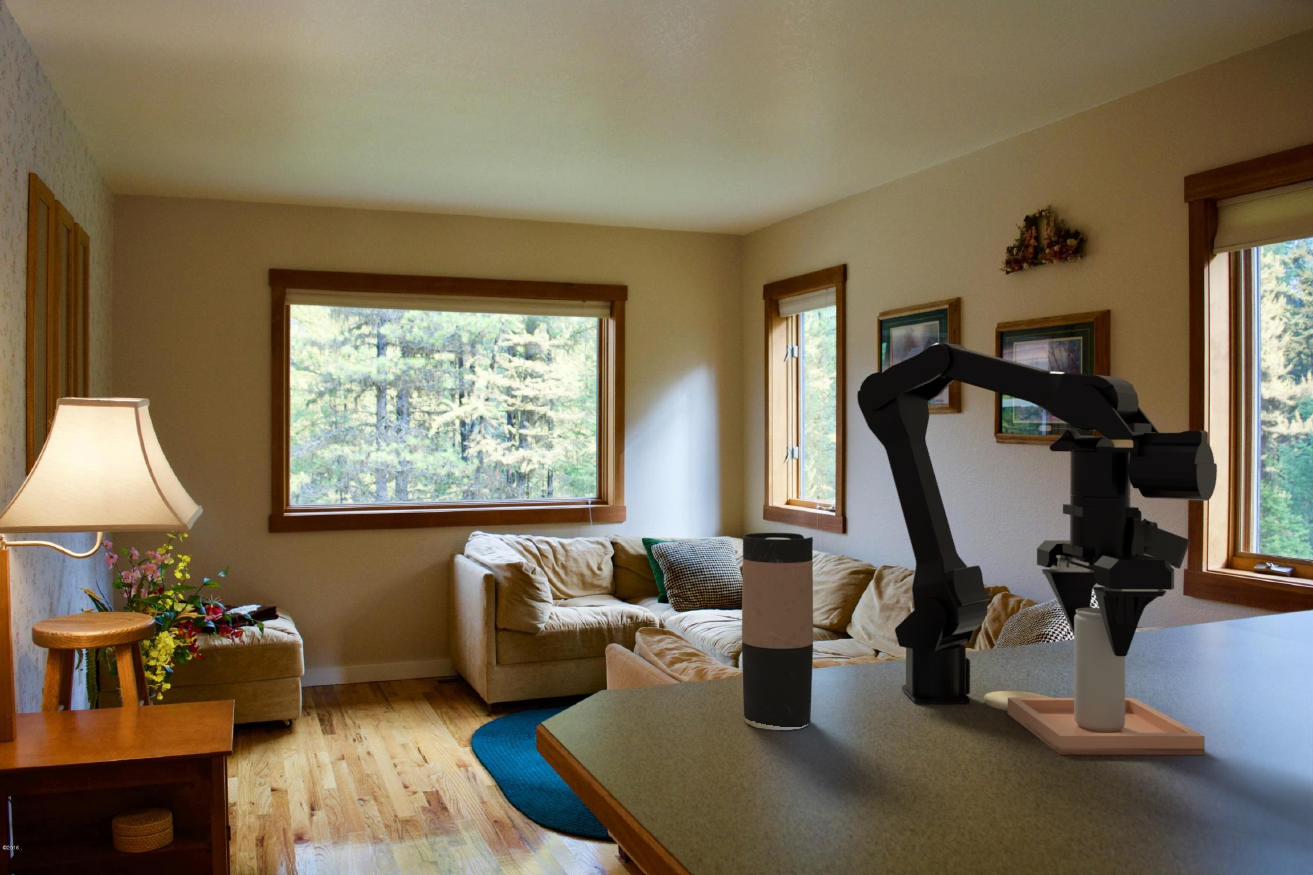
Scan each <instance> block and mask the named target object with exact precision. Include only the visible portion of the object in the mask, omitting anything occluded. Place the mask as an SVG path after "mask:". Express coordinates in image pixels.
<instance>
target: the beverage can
mask: <svg viewBox="0 0 1313 875" xmlns="http://www.w3.org/2000/svg"><path fill="white" fill-rule="evenodd" d="M1076 613H1077V614H1076V615H1075V617H1074V634H1073V636H1074V637H1073V638H1074V639H1073V641H1074V642H1073V643H1074V644H1073V646H1074V647H1073V648H1074V649H1073V652H1074V654H1073V658H1074V662H1073V666H1074V668H1073V669H1074V671H1073V675H1074V676H1073V685H1074V686H1073V695H1074V696H1073V698H1074V719H1075V721H1076V722H1077V724H1078V725H1079V726H1080V727H1082V728H1085V729H1088V730H1091V731H1097V732H1117V731H1119V730H1121V729H1122V728H1123V727H1124V725H1125V698H1126V656H1115V655H1114V653H1113V650H1112V647H1111V644H1110V642H1109V638H1108V635H1107V632H1106V628H1105V625H1104V622H1103V618H1102V615H1101V612H1100V609H1099V607H1090V608H1079V609H1076Z"/></svg>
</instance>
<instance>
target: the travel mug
mask: <svg viewBox="0 0 1313 875" xmlns="http://www.w3.org/2000/svg"><path fill="white" fill-rule="evenodd" d="M813 542H814V538H813V536H811V537H810V536H809V537H806V538H805V537H804V535H802V534H800V533H795V532H794V533H792V532H755V533H748V534H747V533H746V534H744V535H743V537H742V581H741V582H742V586H741V588H742V590H741V591H742V592H741V593H742V595H741V599H742V600H741V603H742V604H741V658H742V659H741V660H742V662H741V664H742V665H741V666H742V695H743V696H742V698H743V699H742V700H743V701H742V702H743V717H744V716H745V718H746V719H748V720H750V721H755V722H756V723H761V724H766V725H773V726H780V727H802V726H804V725H807V724H809V723H811V718H812V717H811V716H812V715H811V714H812V692H813V691H812V690H813V689H812V688H813V687H812V685H813V662H814V661H813V660H814V659H813V658H814V652H813V651H814V644H813V643H814V587H813V586H814V582H813V581H814V575H813V574H814V568H813V567H814V566H813V565H814V564H813V562H814V561H813V558H814V557H813V556H814V555H813V551H814V550H813V546H814V545H813ZM809 725H810V724H809Z"/></svg>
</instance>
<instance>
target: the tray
mask: <svg viewBox="0 0 1313 875" xmlns="http://www.w3.org/2000/svg"><path fill="white" fill-rule="evenodd" d="M1007 715H1008V716H1010V717H1011V718H1012V719H1014V720H1015V721H1016V722H1018V723H1019V724H1020V725H1021V726H1023V727H1024V728H1025V729H1027V730H1028V732H1030V733H1032V734H1033V735H1034V736H1035V737H1037V738H1038V739H1039V740H1041V741H1042V742H1043V743H1044V744H1046V745H1047V746H1049V747H1050V748H1051V749H1052V750H1054V752H1056V753H1057V754H1059V755H1063V756H1064V755H1065V756H1067V755H1077V756H1079V755H1082V756H1085V755H1088V756H1089V755H1091V756H1092V755H1094V756H1096V755H1097V756H1099V755H1100V756H1101V755H1103V756H1105V755H1106V756H1107V755H1112V756H1114V755H1116V756H1117V755H1120V756H1121V755H1123V756H1128V755H1131V756H1133V755H1139V756H1141V755H1142V756H1144V755H1148V756H1149V755H1153V756H1154V755H1157V756H1160V755H1161V756H1164V755H1165V756H1166V755H1167V756H1168V755H1169V756H1172V755H1174V756H1175V755H1176V756H1180V755H1181V756H1186V755H1187V756H1188V755H1190V756H1191V755H1193V756H1194V755H1195V756H1196V755H1197V756H1204V755H1205V751H1206V750H1205V749H1206V747H1205V743H1206V742H1205V740H1206V737H1205V735H1204V734H1201V733H1200V732H1198V731H1196V730H1194V729H1192V728H1190V727H1188V726H1187V725H1185V724H1183V723H1181V722H1179V721H1177V720H1176V719H1173V718H1171V717H1169V716H1168V715H1166V714H1164V713H1162V712H1161V711H1159V710H1157V709H1155V708H1153V707H1151V706H1149V705H1148V704H1146V703H1144V702H1141V701H1140V700H1138V699H1137V698H1135V697H1125V725H1124V727H1123V728H1122V729H1121V730H1119V731H1117V732H1097V731H1091V730H1088V729H1085V728H1082V727H1080V726H1079V725H1078V724H1077V722H1076V721H1075V719H1074V697H1051V698H1008V711H1007Z"/></svg>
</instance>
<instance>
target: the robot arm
mask: <svg viewBox="0 0 1313 875" xmlns="http://www.w3.org/2000/svg"><path fill="white" fill-rule="evenodd" d="M955 381H957V382H960V383H964V384H967V385H970V386H974V387H978V388H980V389H984V390H987V391H991V392H995V393H998V394H1001V395H1004V396H1008V397H1011V398H1014V399H1018V400H1022V401H1026V402H1028V403H1032V404H1033V405H1035V406H1037V407H1039V408H1041V409H1043V410H1044V411H1045V412H1047V414H1049V415H1051V416H1052V417H1055V418H1056V419H1059V420H1060V421H1062V422H1065V423H1066V424H1068V425H1070V426H1072V427H1075V428H1077V429H1079V430H1083V431H1096V432H1098V433H1099V434H1101V435H1102V436H1082V435H1081V434H1080V432H1079V431H1078V430H1076V429H1065V430H1064V432H1063V433H1062V435H1061V436H1060V437H1059V438H1057V440H1055V441H1053V443H1051V444H1050V445H1049V450H1050V452H1057V453H1058V452H1062V453H1063V452H1064V453H1065V452H1066V453H1067V452H1068V453H1070V456H1069V457H1070V462H1069V463H1070V464H1069V466H1070V469H1069V472H1070V473H1069V475H1070V476H1069V478H1070V479H1069V480H1070V482H1069V485H1070V486H1069V488H1070V490H1069V491H1070V492H1069V493H1070V495H1069V503H1062V514H1063V515H1069V518H1070V519H1069V525H1070V526H1069V540H1066V539H1065V540H1064V539H1063V540H1062V539H1061V540H1059V539H1058V540H1054V539H1053V540H1050V539H1049V540H1047V539H1046V540H1043V542H1042V543H1040V545H1039V546H1038V547H1037V548H1036V565H1037V566H1040V567H1043V569H1041V570H1042V574H1043V575H1044V576H1045V578H1046V580H1047V581H1048V583H1049V586H1050V588H1051V589H1052V592H1053V593H1054V596H1055V597H1056V600H1057V601H1058V604H1059V606H1060V608H1061V610H1062V612H1063V615H1064V618H1065V619H1066V621H1067V624H1068V626H1069V627H1070V630H1071V632H1072V634H1073V635H1074V617H1075V615H1076V614H1077V613H1076V609H1079V608H1091V604H1092V595H1093V593H1094V596H1095V598H1096V603H1097V605H1098V608H1099V609H1100V612H1101V615H1102V618H1103V622H1104V625H1105V628H1106V632H1107V635H1108V638H1109V642H1110V644H1111V647H1112V650H1113V653H1114V655H1115V656H1125V657H1126V656H1128V653H1129V650H1130V648H1131V644H1132V643H1133V642H1132V641H1133V639H1134V638H1135V634H1136V630H1137V627H1138V625H1139V622H1140V619H1141V618H1142V615H1143V612H1144V610H1145V609H1146V607H1147V606H1148V605H1149V604H1151V603H1152V602H1153V601H1154V600H1156V599H1157V598H1159V597H1164V596H1165V595H1166V593H1167V590H1174V589H1175V569H1179V570H1180V569H1181V567H1182V564H1183V562H1184V559H1185V557H1186V554H1187V551H1188V548H1189V547H1190V542H1191V539H1188V538H1186V537H1183V536H1181V535H1178V534H1175V533H1173V532H1170V531H1168V530H1164V529H1163V528H1159V527H1158V523H1157V522H1155V521H1150V520H1147V518H1144V517H1142V515H1143V514H1142V511H1141V510H1140V508H1139V507H1137V506H1131V486H1132V488H1133V489H1135V490H1137V489H1138V490H1139V493H1140V494H1141V495H1142V497H1143V498H1145V499H1163V500H1164V499H1165V500H1183V501H1186V500H1187V501H1209V500H1211V498H1212V496H1213V494H1214V491H1215V488H1216V484H1217V478H1218V477H1217V476H1218V464H1217V463H1216V462H1215V456H1214V453H1213V449H1212V447H1211V445H1210V443H1209V433H1208V431H1207V430H1184V431H1180V432H1160V431H1159V430H1158V429H1157V427H1156V426H1155V425H1154V424H1153V423H1152V421H1151V419H1150V418H1149V417H1147V415H1146V413H1145V412H1144V411H1143V409H1142V408H1141V407H1140V406H1139V397H1138V393H1137V391H1136V389H1135V388H1134V386H1133V384H1132V383H1131V382H1129V381H1128V380H1126V379H1124V378H1121V377H1119V376H1118V377H1117V376H1109V375H1100V374H1089V373H1078V372H1067V371H1066V372H1062V371H1051V370H1047V369H1044V368H1040V367H1035V366H1032V365H1028V364H1025V363H1021V362H1019V361H1018V362H1017V361H1013V360H1009V359H1006V358H1001V357H998V356H995V355H990V354H987V353H983V352H979V351H975V350H972V349H968V348H966V347H965V346H963V345H960V344H956V343H955V344H954V343H947V342H936V343H933V344H931V345H930V346H928V347H927V348H926V349H924V350H923V351H920V353H918V354H916V355H913V356H911V357H909V358H906V359H905V360H902V361H901V362H897V363H895V364H894V365H891V366H890V367H888V368H887V369H885V370H884V371H878V372H877V371H876V372H874V373H871V374H869V375H868V376H866V377H865V378H864V380H863V381H862V382H861V385H860V388H858V390H857V395H856V398H857V404H858V406H859V407H858V408H859V410H860V412H861V414H862V417H863V418H864V420H865V423H866V424H867V427H868V430H870V432H871V433H872V434H873V435H874V437H875V438H876V439H877V441H879V443H880V444H881V445H882V446H883V448H884V449H885V453H886V455H887V458H888V460H887V461H888V464H889V467H890V470H891V475H892V478H893V482H894V486H895V489H896V494H897V496H898V500H899V504H900V508H901V511H902V515H903V519H904V522H905V527H906V529H907V530H906V531H907V533H908V537H909V538H908V539H909V541H910V545H911V549H912V552H913V557H914V559H915V570H914V576H913V580H912V585H911V586H912V587H911V595H912V601H913V602H912V604H913V610H912V611H911V612H910V613H909V615H907V616H906V617H905V618H904V619H903V620H902V621H901V622H900V623H899V624H898V625H897V626H896V627H895V628H894V633H895V636H896V640H897V643H898V646H899V647H900V648H901V647H902V648H905V684H902V685H901V691H903V692H904V693H905V695H906V696H908V697H909V698H910V699H911V701H913V702H914V703H917V704H969V703H971V702H972V699H971V697H970V696H969V695H970V694H971V660H970V659H969V657H967V653H966V652H967V650H966V649H967V647H966V646H965V645H964V644H965V643H966V644H969V643H972V641H973V638H974V635H975V633H976V630H977V629H978V628H979V627H980V626H981V625H982V624H983V623H984V620H985V618H986V617H987V616H988V604H987V601H989V600H991V596H990V595H989V593H988V592H987V589H986V588H985V585H984V578H983V573H982V572H983V570H982V569H981V566H980V565H971V566H968V565H966V563H965V562H964V561H963V559H962V558H961V557H960V556H959V554H958V552H957V548H956V545H955V541H954V538H953V534H952V531H951V527H950V523H949V521H948V517H947V513H946V509H945V506H944V502H943V499H942V495H941V491H940V488H939V485H938V484H939V483H938V481H937V478H936V477H937V476H936V473H935V470H934V466H933V463H932V460H931V456H930V452H929V448H928V446H927V441H926V436H927V431H928V426H929V420H930V411H929V410H930V409H929V402H931V401H933V400H935V399H936V398H937V397H939V396H941V395H942V393H944V392H945V391H946V390H947V388H948V387H949V386H950V385H951V384H952V383H953V382H955ZM1113 440H1114V441H1132V446H1131V447H1130V446H1129V447H1128V446H1127V447H1126V446H1124V447H1123V446H1115V444H1114V442H1113ZM1173 567H1174V568H1175V569H1174V568H1173ZM1096 585H1098V586H1096ZM1093 591H1094V592H1093Z"/></svg>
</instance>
